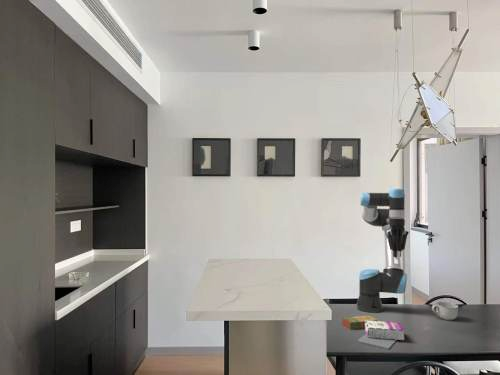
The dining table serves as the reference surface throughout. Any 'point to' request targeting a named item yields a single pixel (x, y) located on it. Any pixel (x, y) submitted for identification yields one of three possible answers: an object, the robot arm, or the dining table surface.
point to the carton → (356, 321)
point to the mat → (377, 341)
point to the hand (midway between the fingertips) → (397, 263)
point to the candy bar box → (384, 330)
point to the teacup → (446, 310)
